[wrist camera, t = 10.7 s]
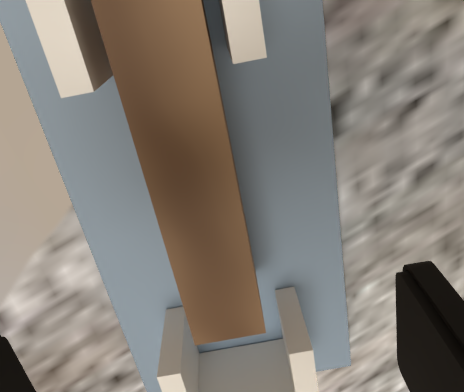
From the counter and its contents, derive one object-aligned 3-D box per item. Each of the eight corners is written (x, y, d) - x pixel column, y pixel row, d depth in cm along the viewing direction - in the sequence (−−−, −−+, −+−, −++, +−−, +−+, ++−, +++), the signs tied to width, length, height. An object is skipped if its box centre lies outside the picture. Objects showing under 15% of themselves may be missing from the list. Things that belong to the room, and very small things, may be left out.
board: (308, -107, 18) (313, -113, 17) (346, 354, 29) (351, 365, 28) (-14, -40, 18) (-25, -42, 17) (152, 388, 30) (150, 400, 29)
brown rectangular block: (196, -34, 18) (192, -45, 13) (255, 271, 25) (266, 333, 20) (115, -17, 18) (84, -22, 13) (197, 281, 25) (194, 345, 20)
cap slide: (294, 286, 25) (313, 350, 21) (303, 348, 27) (322, 418, 23) (165, 309, 25) (156, 377, 21) (185, 369, 28) (181, 442, 23)
